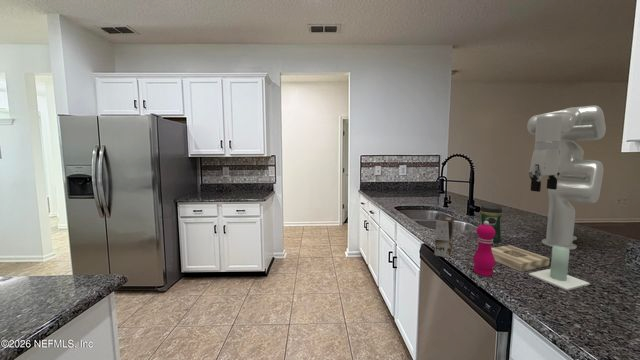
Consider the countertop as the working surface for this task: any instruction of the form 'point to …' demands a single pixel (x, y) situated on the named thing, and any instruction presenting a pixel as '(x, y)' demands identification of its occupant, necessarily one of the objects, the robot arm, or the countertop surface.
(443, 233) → the coffee box
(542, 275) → the mat
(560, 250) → the peg
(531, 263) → the wooden square frame
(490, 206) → the coffee jar
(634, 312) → the countertop surface
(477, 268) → the pepper mill
